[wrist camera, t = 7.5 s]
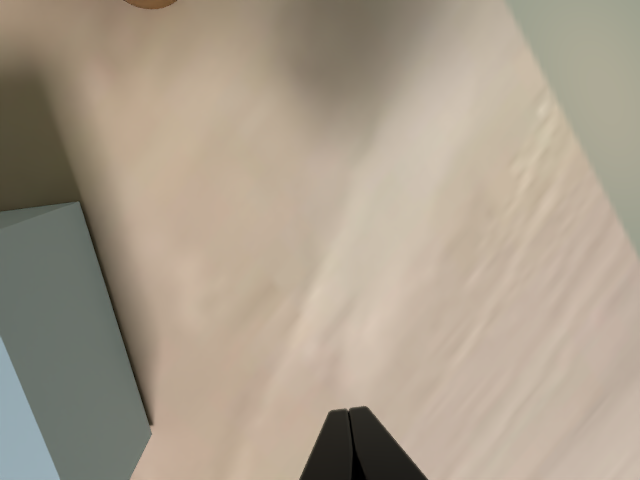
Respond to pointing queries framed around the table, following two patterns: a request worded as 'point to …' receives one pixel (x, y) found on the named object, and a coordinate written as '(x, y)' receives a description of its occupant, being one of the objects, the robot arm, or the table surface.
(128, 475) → the block
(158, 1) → the dowel
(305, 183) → the table surface
